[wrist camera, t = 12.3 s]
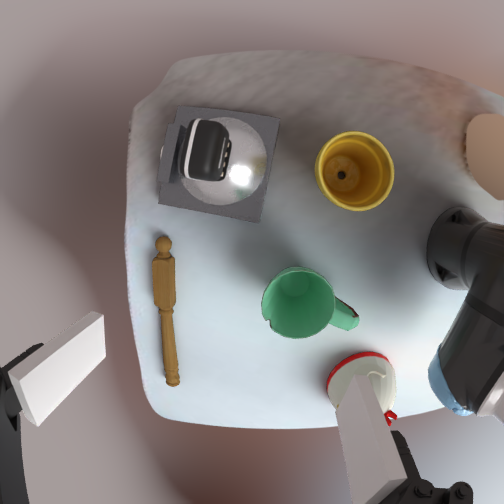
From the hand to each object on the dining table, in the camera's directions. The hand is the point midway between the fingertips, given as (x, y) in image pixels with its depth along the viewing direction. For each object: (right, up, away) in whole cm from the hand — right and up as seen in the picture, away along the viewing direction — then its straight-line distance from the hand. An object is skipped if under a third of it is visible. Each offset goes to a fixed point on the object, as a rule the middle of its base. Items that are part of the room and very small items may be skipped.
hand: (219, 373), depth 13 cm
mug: (+11, 0, +33) cm, 34 cm away
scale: (-3, +20, +30) cm, 36 cm away
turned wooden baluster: (-14, -6, +37) cm, 39 cm away
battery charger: (-3, +19, +25) cm, 32 cm away
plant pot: (+15, +18, +29) cm, 37 cm away
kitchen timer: (+23, -20, +36) cm, 47 cm away
